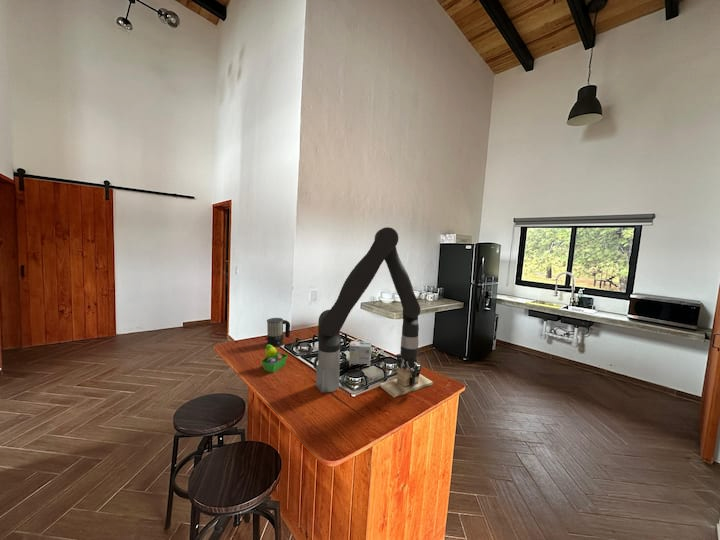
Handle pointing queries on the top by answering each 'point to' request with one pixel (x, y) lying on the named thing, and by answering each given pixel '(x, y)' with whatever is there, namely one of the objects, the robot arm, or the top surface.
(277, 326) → the milk frother
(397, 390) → the board
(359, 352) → the light bulb box
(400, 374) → the block
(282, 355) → the fruit basket
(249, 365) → the top surface
